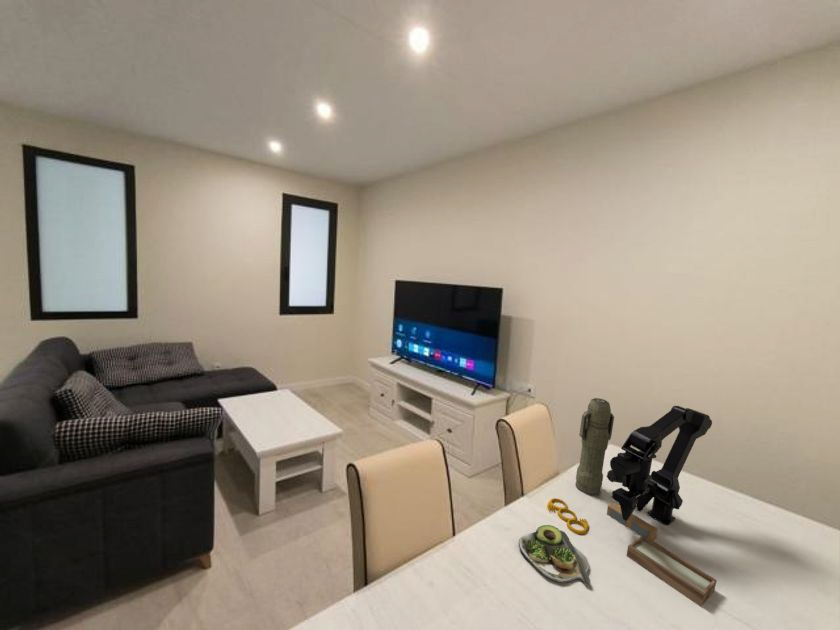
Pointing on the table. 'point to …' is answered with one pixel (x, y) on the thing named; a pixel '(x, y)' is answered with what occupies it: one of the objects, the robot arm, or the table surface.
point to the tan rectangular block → (632, 522)
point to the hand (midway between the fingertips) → (631, 515)
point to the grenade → (594, 445)
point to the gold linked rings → (568, 520)
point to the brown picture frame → (672, 569)
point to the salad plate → (555, 554)
